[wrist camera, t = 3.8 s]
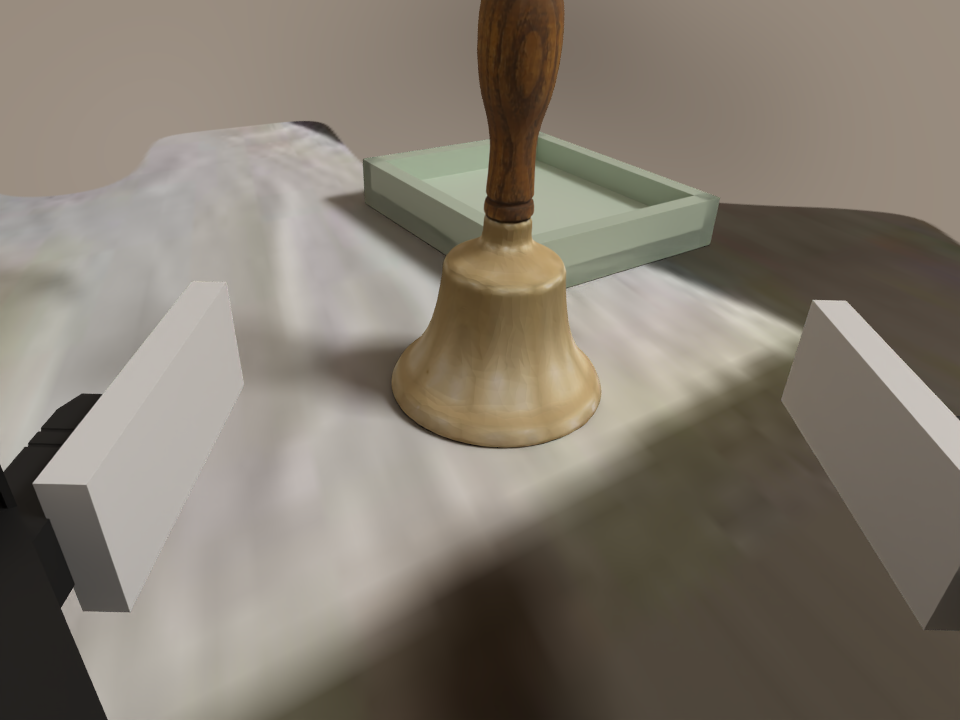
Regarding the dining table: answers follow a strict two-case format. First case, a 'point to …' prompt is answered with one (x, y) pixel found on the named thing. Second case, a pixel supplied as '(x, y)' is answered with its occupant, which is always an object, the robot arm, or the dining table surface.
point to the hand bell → (504, 270)
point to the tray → (547, 204)
